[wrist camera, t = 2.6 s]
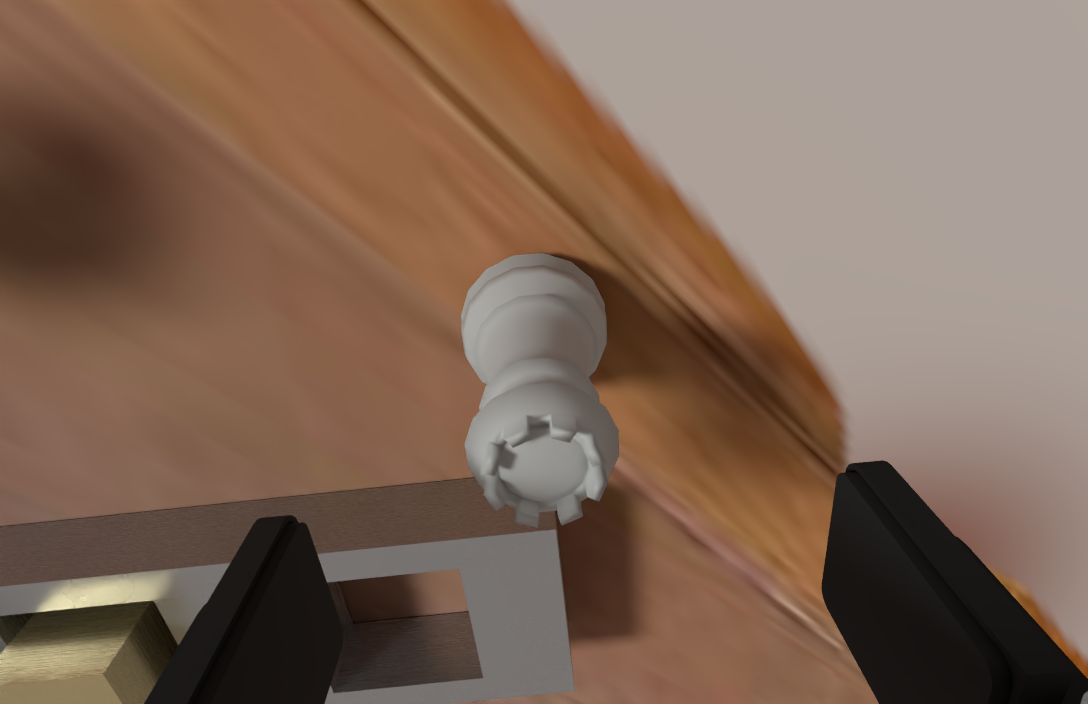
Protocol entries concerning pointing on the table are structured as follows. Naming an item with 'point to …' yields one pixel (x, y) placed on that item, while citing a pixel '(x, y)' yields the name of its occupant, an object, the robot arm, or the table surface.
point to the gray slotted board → (332, 583)
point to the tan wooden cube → (87, 656)
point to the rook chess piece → (538, 387)
